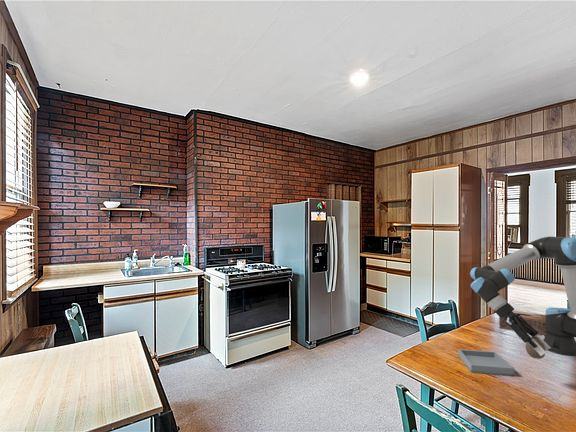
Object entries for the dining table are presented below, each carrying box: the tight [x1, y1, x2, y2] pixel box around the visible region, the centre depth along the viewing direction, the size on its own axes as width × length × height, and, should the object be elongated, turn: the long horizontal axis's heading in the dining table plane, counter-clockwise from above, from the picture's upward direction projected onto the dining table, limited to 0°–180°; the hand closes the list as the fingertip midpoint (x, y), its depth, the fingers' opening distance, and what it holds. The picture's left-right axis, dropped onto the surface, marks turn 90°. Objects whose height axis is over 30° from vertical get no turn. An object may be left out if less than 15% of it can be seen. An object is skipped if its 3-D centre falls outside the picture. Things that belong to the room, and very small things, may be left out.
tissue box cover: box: [498, 310, 546, 337], centre depth 196 cm, size 26×14×10 cm, turn 53°
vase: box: [525, 336, 547, 360], centre depth 133 cm, size 7×7×9 cm
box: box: [457, 348, 515, 377], centre depth 148 cm, size 18×18×4 cm
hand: (545, 351), depth 130 cm, fingers closed on vase, 6 cm apart
